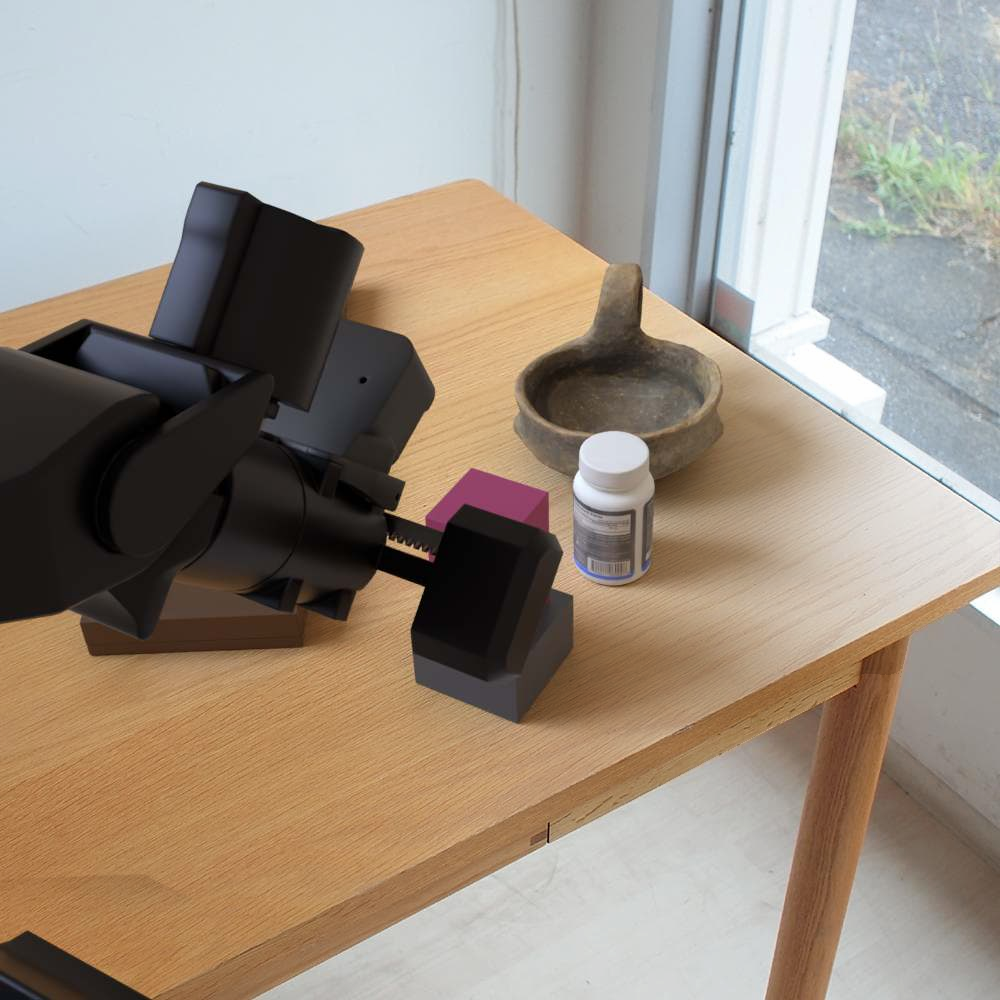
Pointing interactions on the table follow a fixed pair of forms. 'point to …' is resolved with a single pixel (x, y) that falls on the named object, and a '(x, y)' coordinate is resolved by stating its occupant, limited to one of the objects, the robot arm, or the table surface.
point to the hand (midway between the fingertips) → (421, 563)
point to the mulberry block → (492, 501)
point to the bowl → (619, 388)
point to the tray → (204, 623)
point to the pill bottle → (613, 509)
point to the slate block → (521, 691)
